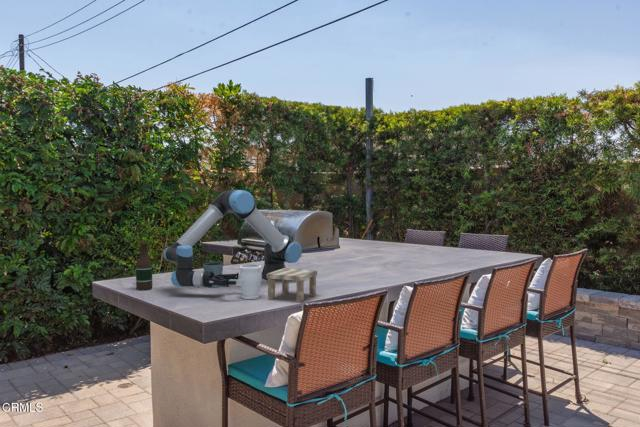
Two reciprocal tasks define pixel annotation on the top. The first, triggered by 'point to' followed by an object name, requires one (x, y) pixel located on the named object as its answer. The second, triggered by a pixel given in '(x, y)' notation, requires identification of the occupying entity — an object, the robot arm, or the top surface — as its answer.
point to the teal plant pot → (214, 269)
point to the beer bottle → (143, 269)
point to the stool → (292, 274)
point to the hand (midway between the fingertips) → (247, 280)
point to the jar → (251, 281)
